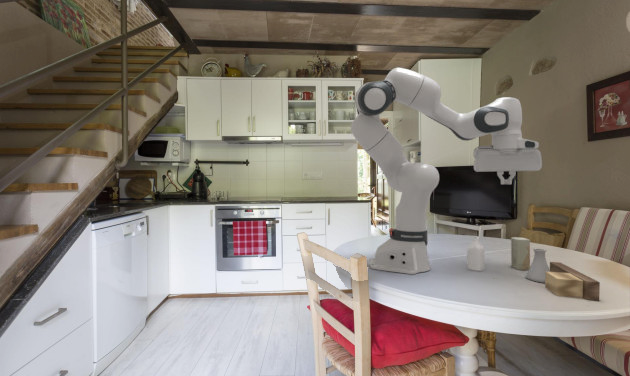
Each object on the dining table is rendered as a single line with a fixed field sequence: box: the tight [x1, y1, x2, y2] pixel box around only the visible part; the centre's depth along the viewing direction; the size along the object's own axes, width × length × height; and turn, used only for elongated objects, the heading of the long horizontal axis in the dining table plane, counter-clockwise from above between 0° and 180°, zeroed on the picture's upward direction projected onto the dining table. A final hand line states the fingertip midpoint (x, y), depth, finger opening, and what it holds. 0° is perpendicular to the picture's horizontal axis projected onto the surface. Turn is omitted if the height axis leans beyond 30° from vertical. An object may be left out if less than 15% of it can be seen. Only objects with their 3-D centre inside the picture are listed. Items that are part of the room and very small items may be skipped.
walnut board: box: [549, 261, 601, 302], centre depth 89 cm, size 3×20×5 cm, turn 164°
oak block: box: [545, 271, 584, 299], centre depth 85 cm, size 6×7×5 cm
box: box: [510, 236, 531, 271], centre depth 109 cm, size 5×4×11 cm
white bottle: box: [466, 236, 485, 272], centre depth 108 cm, size 6×12×6 cm
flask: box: [525, 248, 550, 283], centre depth 96 cm, size 7×7×10 cm
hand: (506, 184), depth 103 cm, fingers closed
